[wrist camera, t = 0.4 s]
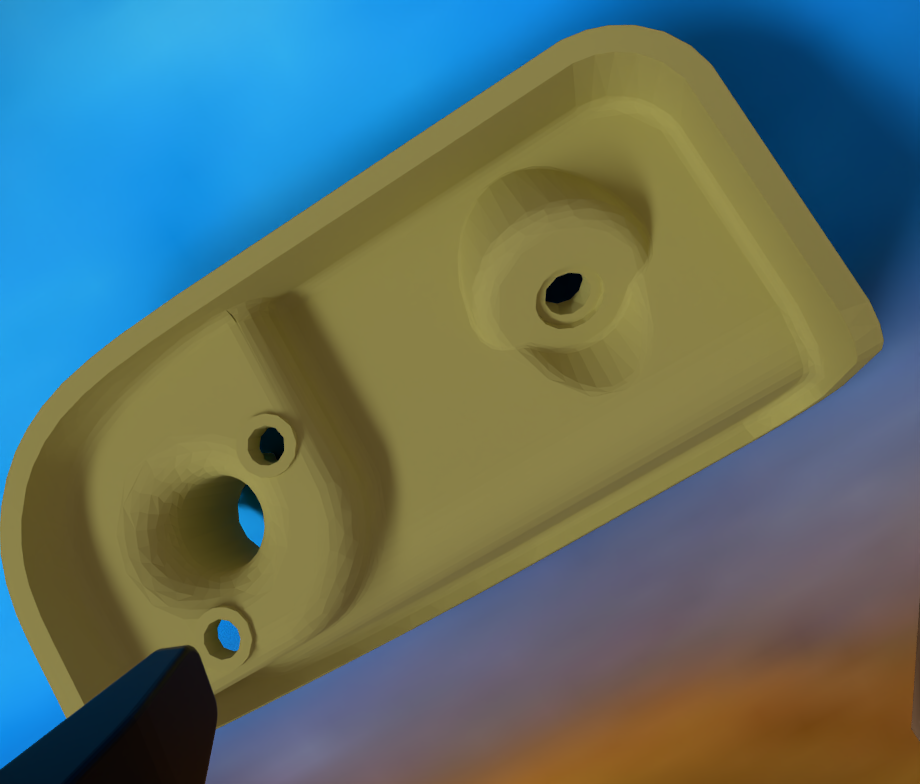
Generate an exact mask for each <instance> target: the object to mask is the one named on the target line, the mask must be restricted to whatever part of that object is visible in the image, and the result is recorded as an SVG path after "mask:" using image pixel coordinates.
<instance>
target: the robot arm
mask: <svg viewBox="0 0 920 784" xmlns="http://www.w3.org/2000/svg"><path fill="white" fill-rule="evenodd" d="M217 716H218V712H217V703H216V699H215V696H214V693H213V690H212V687H211V685H210V682H209V679H208V676H207V674H206V671H205V668H204V665H203V662H202V660H201V657H200V655H199V653H198V651H197V650H196V649H195V648H194V647H193V646H190V645H183V646H175V647H168V648H161V649H158V650H156V651H154V652H153V653H151V654H150V655H149V656H148V657H146V658H145V659H144V660H142V661H141V662H140V663H138V664H137V665H136V666H135V667H133V668H132V669H131V670H129V671H128V672H127V673H125V674H124V675H123V676H122V677H120V678H119V679H118V680H116V681H115V682H114V683H112V684H111V685H110V686H108V687H107V688H106V689H105V690H103V691H102V692H101V693H99V694H98V695H97V696H95V697H94V698H93V699H92V700H90V701H89V702H88V703H86V704H85V705H84V706H82V707H81V708H80V709H79V710H77V711H76V712H75V713H73V714H72V715H71V716H69V717H68V718H67V719H66V720H64V721H63V722H62V723H60V724H59V725H58V726H56V727H55V728H54V729H52V730H51V731H50V732H49V733H47V734H46V735H45V736H43V737H42V738H41V739H39V740H38V741H37V742H36V743H34V744H33V745H32V746H30V747H29V748H28V749H26V750H25V751H24V752H23V753H21V754H20V755H19V756H17V757H16V758H15V759H13V760H12V761H11V762H9V763H8V764H7V765H6V766H4V767H3V768H2V769H0V784H205V781H206V776H207V771H208V766H209V760H210V755H211V750H212V745H213V740H214V735H215V730H216V725H217Z"/></svg>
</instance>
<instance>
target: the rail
mask: <svg viewBox="0 0 920 784" xmlns="http://www.w3.org/2000/svg"><path fill="white" fill-rule="evenodd" d="M911 729H912V731H913V732H914V734H915V735H916V737H917V738H918V740H919V741H920V605H919V621H918V636H917V651H916V666H915V681H914V696H913V711H912V726H911Z"/></svg>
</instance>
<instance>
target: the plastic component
mask: <svg viewBox="0 0 920 784" xmlns="http://www.w3.org/2000/svg"><path fill="white" fill-rule="evenodd" d="M567 273H579V274H581V275H582V278H583V280H582V283H581V286H580V289H579V291H578V292H577V293H576V294H575V295H574V296H573V297H572V298H571V299H570V300H567V301H564V302H561V303H558V304H557V303H552V302H548V301H545V298H546V289H547V288H548V287H549V286H550V284H551V283H552V282H553V281H554V280H555V279H556V277H558V276H561V275H564V274H567ZM883 342H884V340H883V335H882V331H881V326H880V323H879V321H878V319H877V316H876V314H875V312H874V310H873V307H872V305H871V303H870V301H869V299H868V298H867V296H866V295H865V293H864V292H863V290H862V289H861V287H860V286H859V284H858V283H857V281H856V280H855V278H854V277H853V275H852V274H851V272H850V271H849V269H848V268H847V266H846V265H845V263H844V262H843V260H842V259H841V257H840V256H839V254H838V253H837V251H836V250H835V248H834V247H833V245H832V244H831V242H830V241H829V239H828V238H827V236H826V235H825V233H824V232H823V230H822V229H821V228H820V226H819V225H818V223H817V222H816V220H815V219H814V217H813V216H812V214H811V213H810V211H809V210H808V208H807V207H806V205H805V204H804V202H803V201H802V199H801V198H800V196H799V195H798V193H797V192H796V190H795V189H794V187H793V186H792V184H791V183H790V181H789V180H788V178H787V177H786V175H785V174H784V172H783V171H782V169H781V168H780V166H779V165H778V163H777V162H776V160H775V159H774V157H773V156H772V154H771V153H770V151H769V150H768V148H767V147H766V145H765V144H764V142H763V141H762V139H761V138H760V136H759V135H758V133H757V132H756V130H755V129H754V127H753V126H752V124H751V123H750V121H749V120H748V118H747V117H746V115H745V114H744V112H743V111H742V109H741V108H740V106H739V105H738V103H737V102H736V100H735V99H734V97H733V96H732V94H731V93H730V91H729V90H728V88H727V87H726V85H725V84H724V82H723V81H722V79H721V78H720V76H719V75H718V73H717V72H716V70H715V69H714V67H713V66H712V65H711V64H710V63H709V62H708V61H707V60H706V59H705V58H704V57H703V56H702V55H701V54H700V53H698V52H697V51H696V50H695V49H694V48H693V47H692V46H691V45H689V44H687V43H685V42H683V41H681V40H679V39H677V38H675V37H674V36H672V35H670V34H668V33H666V32H663V31H659V30H655V29H650V28H646V27H642V26H637V25H608V26H603V27H598V28H593V29H588V30H585V31H582V32H580V33H578V34H575V35H573V36H570V37H568V38H565V39H563V40H560V41H559V42H557V43H556V44H554V45H553V46H551V47H550V48H548V49H547V50H545V51H544V52H542V53H541V54H539V55H538V56H536V57H535V58H533V59H532V60H530V61H529V62H527V63H526V64H524V65H523V66H521V67H520V68H518V69H517V70H515V71H514V72H512V73H511V74H509V75H508V76H506V77H505V78H503V79H502V80H500V81H499V82H497V83H496V84H494V85H493V86H491V87H490V88H488V89H487V90H485V91H484V92H482V93H481V94H479V95H478V96H476V97H475V98H473V99H472V100H470V101H469V102H467V103H466V104H464V105H463V106H461V107H460V108H458V109H456V110H455V111H453V112H452V113H450V114H449V115H447V116H446V117H444V118H443V119H441V120H440V121H438V122H437V123H435V124H434V125H432V126H431V127H429V128H428V129H426V130H425V131H423V132H422V133H420V134H419V135H417V136H416V137H414V138H413V139H411V140H410V141H408V142H407V143H405V144H404V145H402V146H401V147H399V148H398V149H396V150H395V151H393V152H392V153H390V154H389V155H387V156H386V157H384V158H383V159H381V160H380V161H378V162H377V163H375V164H374V165H372V166H371V167H369V168H368V169H366V170H365V171H363V172H362V173H360V174H359V175H357V176H356V177H354V178H353V179H351V180H350V181H348V182H347V183H345V184H344V185H342V186H341V187H339V188H338V189H336V190H334V191H333V192H331V193H330V194H328V195H327V196H325V197H324V198H322V199H321V200H319V201H318V202H316V203H315V204H313V205H312V206H310V207H309V208H307V209H306V210H304V211H303V212H301V213H300V214H298V215H297V216H295V217H294V218H292V219H291V220H289V221H288V222H286V223H285V224H283V225H282V226H280V227H279V228H277V229H276V230H274V231H273V232H271V233H270V234H268V235H267V236H265V237H264V238H262V239H261V240H259V241H258V242H256V243H255V244H253V245H252V246H250V247H249V248H247V249H246V250H244V251H243V252H241V253H240V254H238V255H237V256H235V257H234V258H232V259H231V260H229V261H228V262H226V263H225V264H223V265H222V266H220V267H219V268H217V269H215V270H214V271H212V272H211V273H209V274H208V275H206V276H205V277H203V278H202V279H200V280H199V281H197V282H196V283H194V284H193V285H191V286H190V287H188V288H187V289H185V290H184V291H182V292H181V293H179V294H178V295H176V296H175V297H173V298H172V299H171V300H169V301H168V302H166V303H165V304H163V305H162V306H161V307H159V308H158V309H156V310H155V311H153V312H152V313H151V314H149V315H148V316H146V317H145V318H143V319H142V320H141V321H139V322H138V323H136V324H135V325H133V326H132V327H131V328H129V329H128V330H126V331H125V332H123V333H122V334H121V335H119V336H118V337H117V338H115V339H114V340H113V341H111V342H110V343H109V344H108V345H106V346H105V347H104V348H103V349H101V350H100V351H99V352H97V353H96V354H95V355H94V356H92V357H91V358H90V359H89V360H88V361H87V362H85V363H84V364H83V365H82V366H81V367H80V368H79V369H78V370H77V371H75V372H74V373H73V374H72V375H71V376H70V377H69V378H68V379H67V380H65V381H64V382H63V383H62V384H61V385H60V387H59V388H58V389H57V390H56V391H55V392H54V393H53V395H52V396H51V397H50V398H49V399H48V400H47V402H46V403H45V404H44V405H43V406H42V407H41V409H40V410H39V412H38V413H37V415H36V416H35V418H34V419H33V421H32V422H31V424H30V425H29V427H28V428H27V430H26V432H25V434H24V436H23V438H22V440H21V442H20V444H19V446H18V448H17V450H16V452H15V455H14V458H13V461H12V464H11V467H10V470H9V473H8V476H7V479H6V485H5V490H4V495H3V500H2V506H1V521H0V544H1V557H2V563H3V569H4V574H5V580H6V584H7V587H8V590H9V594H10V597H11V600H12V603H13V606H14V609H15V612H16V615H17V617H18V619H19V622H20V624H21V626H22V629H23V631H24V633H25V635H26V637H27V639H28V642H29V644H30V646H31V648H32V650H33V652H34V654H35V656H36V658H37V660H38V662H39V664H40V666H41V668H42V670H43V672H44V674H45V676H46V678H47V680H48V682H49V684H50V686H51V688H52V690H53V692H54V694H55V696H56V698H57V700H58V702H59V704H60V706H61V708H62V710H63V712H64V714H65V716H66V718H68V717H69V716H71V715H72V714H73V713H75V712H76V711H77V710H79V709H80V708H81V707H82V706H84V705H85V704H86V703H88V702H89V701H90V700H92V699H93V698H94V697H95V696H97V695H98V694H99V693H101V692H102V691H103V690H105V689H106V688H107V687H108V686H110V685H111V684H112V683H114V682H115V681H116V680H118V679H119V678H120V677H122V676H123V675H124V674H125V673H127V672H128V671H129V670H131V669H132V668H133V667H135V666H136V665H137V664H138V663H140V662H141V661H142V660H144V659H145V658H146V657H148V656H149V655H150V654H151V653H153V652H154V651H156V650H158V649H161V648H168V647H175V646H183V645H190V646H193V647H194V648H195V649H196V650H197V651H198V653H199V655H200V657H201V660H202V662H203V665H204V668H205V671H206V674H207V676H208V679H209V682H210V685H211V687H212V690H213V693H214V696H215V699H216V703H217V712H218V716H217V725H216V729H218V728H220V727H222V726H224V725H226V724H228V723H230V722H232V721H234V720H236V719H238V718H240V717H242V716H244V715H246V714H248V713H250V712H252V711H254V710H256V709H258V708H260V707H262V706H264V705H266V704H268V703H270V702H272V701H274V700H276V699H278V698H280V697H282V696H284V695H286V694H288V693H290V692H292V691H294V690H296V689H298V688H300V687H302V686H304V685H305V684H307V683H309V682H311V681H313V680H315V679H317V678H319V677H321V676H323V675H325V674H327V673H329V672H331V671H333V670H335V669H337V668H339V667H341V666H343V665H345V664H346V663H348V662H350V661H352V660H354V659H356V658H358V657H360V656H362V655H364V654H366V653H368V652H370V651H372V650H374V649H375V648H377V647H379V646H381V645H383V644H385V643H387V642H389V641H391V640H393V639H395V638H397V637H398V636H400V635H402V634H404V633H406V632H408V631H410V630H412V629H414V628H416V627H417V626H419V625H421V624H423V623H425V622H427V621H429V620H431V619H433V618H434V617H436V616H438V615H440V614H442V613H444V612H446V611H448V610H449V609H451V608H453V607H455V606H457V605H459V604H461V603H462V602H464V601H466V600H468V599H470V598H472V597H474V596H475V595H477V594H479V593H481V592H483V591H485V590H487V589H488V588H490V587H492V586H494V585H496V584H498V583H499V582H501V581H503V580H505V579H507V578H509V577H510V576H512V575H514V574H516V573H518V572H520V571H521V570H523V569H525V568H527V567H529V566H530V565H532V564H534V563H536V562H538V561H540V560H541V559H543V558H545V557H547V556H549V555H550V554H552V553H554V552H556V551H557V550H559V549H561V548H563V547H565V546H566V545H568V544H570V543H572V542H574V541H575V540H577V539H579V538H581V537H583V536H584V535H586V534H588V533H590V532H591V531H593V530H595V529H597V528H599V527H600V526H602V525H604V524H606V523H608V522H609V521H611V520H613V519H615V518H617V517H618V516H620V515H622V514H624V513H626V512H627V511H629V510H631V509H633V508H634V507H636V506H638V505H640V504H642V503H643V502H645V501H647V500H649V499H651V498H652V497H654V496H656V495H658V494H660V493H661V492H663V491H665V490H667V489H669V488H670V487H672V486H674V485H676V484H677V483H679V482H681V481H683V480H685V479H686V478H688V477H690V476H692V475H694V474H695V473H697V472H699V471H701V470H703V469H704V468H706V467H708V466H710V465H712V464H713V463H715V462H717V461H719V460H720V459H722V458H724V457H726V456H728V455H729V454H731V453H733V452H735V451H737V450H738V449H740V448H742V447H744V446H746V445H747V444H749V443H751V442H753V441H755V440H756V439H758V438H760V437H762V436H763V435H765V434H767V433H768V432H770V431H772V430H774V429H775V428H777V427H779V426H780V425H782V424H784V423H785V422H787V421H789V420H790V419H792V418H794V417H795V416H797V415H799V414H800V413H802V412H804V411H805V410H807V409H808V408H810V407H812V406H813V405H815V404H816V403H818V402H820V401H821V400H823V399H824V398H826V397H827V396H829V395H830V394H832V393H833V392H834V391H836V390H837V389H839V388H840V387H841V386H843V385H844V384H845V383H846V382H847V381H848V380H849V379H850V378H852V377H853V376H854V375H855V374H856V373H857V372H858V371H859V370H860V369H861V368H862V367H863V366H864V365H865V364H867V363H868V362H869V361H870V360H871V359H872V358H873V357H874V356H875V355H876V354H877V353H878V352H879V351H880V350H882V346H883ZM271 427H273V428H276V429H277V430H278V432H279V433H280V434H281V435H282V436H283V438H284V452H283V454H282V456H281V457H280V459H279V461H277V460H276V456H275V455H274V454H273V453H262V452H261V450H260V440H261V436H262V435H263V434H264V432H265V431H266V430H267V429H268V428H271ZM246 484H247V485H248V486H249V487H250V488H251V490H252V491H253V492H254V493H255V495H256V496H257V498H258V500H259V502H260V504H261V507H262V510H263V515H264V523H265V530H264V537H263V540H262V543H261V546H260V547H258V546H257V545H256V544H255V543H254V542H252V541H251V540H250V539H249V538H247V536H246V534H245V532H244V530H243V529H242V527H241V525H240V523H239V514H238V501H239V498H240V495H241V492H242V489H243V488H244V486H245V485H246ZM221 620H228V621H230V622H231V623H232V624H233V625H234V626H235V627H236V628H238V631H239V635H240V638H241V640H240V646H239V650H238V651H231V650H229V649H226V648H224V647H223V645H222V644H221V642H220V640H219V639H218V631H217V628H218V625H219V623H220V621H221Z"/></svg>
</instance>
